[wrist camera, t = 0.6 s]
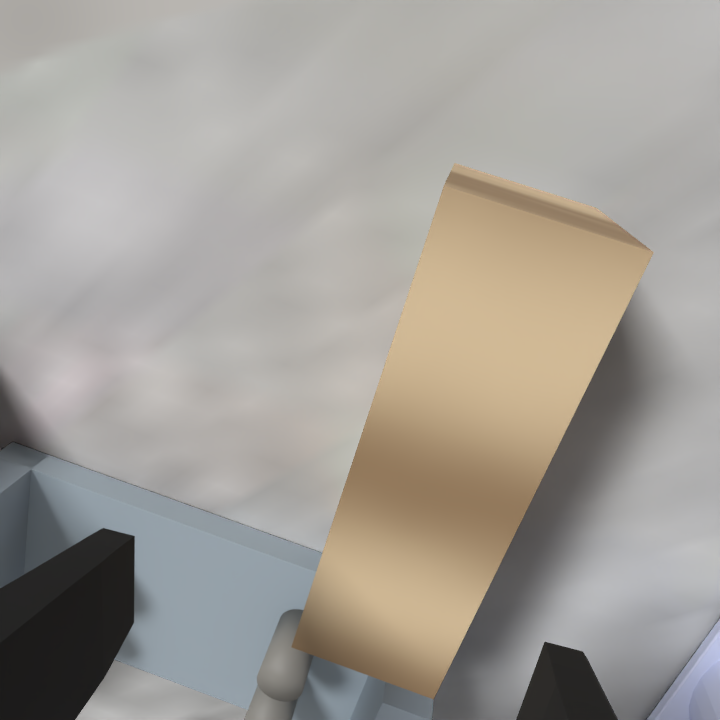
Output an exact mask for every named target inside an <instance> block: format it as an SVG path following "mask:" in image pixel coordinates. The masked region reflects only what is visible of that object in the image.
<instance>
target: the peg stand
mask: <svg viewBox="0 0 720 720" xmlns="http://www.w3.org/2000/svg"><path fill="white" fill-rule="evenodd" d="M102 528H105V529H109V530H113V531H117V532H121V533H125V534H129V535H133V536H135V572H134V624H133V626H132V627H131V629H130V631H129V633H128V635H127V637H126V639H125V641H124V642H123V644H122V646H121V648H120V650H119V652H118V654H117V655H116V657H115V659H114V660H117V661H119V662H122V663H125V664H127V665H130V666H133V667H135V668H138V669H141V670H143V671H146V672H149V673H151V674H154V675H157V676H159V677H162V678H165V679H167V680H170V681H173V682H175V683H178V684H180V685H183V686H186V687H188V688H191V689H194V690H196V691H199V692H202V693H204V694H207V695H210V696H212V697H215V698H218V699H220V700H223V701H226V702H228V703H231V704H234V705H236V706H239V707H241V708H244V709H247V710H248V711H247V714H246V716H245V719H244V720H432V713H433V700H434V699H431V698H428V697H426V696H423V695H420V694H417V693H415V692H412V691H409V690H406V689H404V688H401V687H398V686H395V685H393V684H390V683H387V682H385V681H382V680H379V679H376V678H374V677H371V676H368V675H365V674H363V673H360V672H357V671H355V670H352V669H349V668H346V667H344V666H341V665H338V664H335V663H333V662H330V661H327V660H325V659H322V658H319V657H316V656H314V655H311V654H308V653H305V652H303V651H300V650H297V649H295V648H292V647H291V646H292V643H293V640H294V637H295V634H296V631H297V628H298V625H299V622H300V619H301V616H302V613H303V610H304V607H305V604H306V601H307V598H308V595H309V592H310V589H311V586H312V583H313V580H314V577H315V574H316V571H317V568H318V565H319V562H320V559H321V556H322V553H321V552H318V551H315V550H312V549H309V548H307V547H304V546H301V545H298V544H295V543H293V542H290V541H287V540H284V539H282V538H279V537H276V536H273V535H270V534H268V533H265V532H262V531H259V530H256V529H254V528H251V527H248V526H245V525H243V524H240V523H237V522H234V521H231V520H229V519H226V518H223V517H220V516H217V515H215V514H212V513H209V512H206V511H204V510H201V509H198V508H195V507H192V506H190V505H187V504H184V503H181V502H178V501H176V500H173V499H170V498H167V497H165V496H162V495H159V494H156V493H153V492H151V491H148V490H145V489H142V488H139V487H137V486H134V485H131V484H128V483H126V482H123V481H120V480H117V479H114V478H112V477H109V476H106V475H103V474H100V473H98V472H95V471H92V470H89V469H87V468H84V467H81V466H78V465H75V464H73V463H70V462H67V461H64V460H61V459H59V458H56V457H53V456H50V455H48V454H45V453H42V452H39V451H36V450H34V449H31V448H28V447H25V446H22V445H20V444H17V443H14V442H12V443H11V444H9V445H8V446H6V447H5V448H3V449H2V450H1V451H0V588H2V587H3V586H5V585H7V584H9V583H10V582H12V581H14V580H15V579H17V578H19V577H21V576H22V575H24V574H26V573H27V572H29V571H31V570H33V569H34V568H36V567H38V566H39V565H41V564H43V563H44V562H46V561H48V560H49V559H51V558H53V557H54V556H56V555H58V554H59V553H61V552H63V551H64V550H66V549H68V548H70V547H71V546H73V545H75V544H76V543H78V542H80V541H81V540H83V539H85V538H86V537H88V536H90V535H92V534H93V533H95V532H97V531H99V530H100V529H102Z"/></svg>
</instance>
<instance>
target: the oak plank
mask: <svg viewBox="0 0 720 720" xmlns="http://www.w3.org/2000/svg"><path fill="white" fill-rule="evenodd" d="M653 253H654V252H652V251H651V250H650V249H649V248H647V247H646V246H645V245H643V244H642V243H641V242H640V241H638V240H637V239H636V238H634V237H633V236H632V235H631V234H629V233H628V232H627V231H625V230H624V229H623V228H621V227H620V226H619V225H618V224H616V223H615V222H614V221H612V220H611V219H610V218H609V217H607V216H606V215H605V214H603V213H602V212H601V211H600V210H598V209H597V208H595V207H592V206H588V205H585V204H582V203H579V202H576V201H573V200H569V199H566V198H563V197H560V196H557V195H554V194H550V193H547V192H544V191H541V190H538V189H535V188H532V187H528V186H525V185H522V184H519V183H516V182H513V181H509V180H506V179H503V178H500V177H497V176H494V175H490V174H487V173H484V172H481V171H478V170H475V169H471V168H468V167H465V166H462V165H459V164H456V163H455V164H454V166H453V168H452V170H451V172H450V174H449V176H448V178H447V180H446V183H445V185H444V187H443V190H442V193H441V196H440V199H439V202H438V205H437V208H436V211H435V214H434V218H433V221H432V224H431V227H430V230H429V233H428V236H427V239H426V242H425V245H424V248H423V251H422V254H421V257H420V260H419V263H418V266H417V269H416V272H415V275H414V278H413V281H412V284H411V287H410V290H409V293H408V296H407V299H406V302H405V305H404V308H403V311H402V314H401V317H400V320H399V323H398V326H397V329H396V332H395V335H394V338H393V341H392V344H391V347H390V350H389V353H388V356H387V360H386V363H385V366H384V369H383V372H382V375H381V378H380V381H379V384H378V387H377V390H376V393H375V396H374V399H373V402H372V405H371V408H370V411H369V414H368V417H367V420H366V423H365V426H364V429H363V432H362V435H361V438H360V441H359V444H358V447H357V450H356V453H355V456H354V459H353V462H352V465H351V468H350V471H349V474H348V477H347V480H346V483H345V486H344V489H343V492H342V495H341V498H340V501H339V505H338V508H337V511H336V514H335V517H334V520H333V523H332V526H331V529H330V532H329V535H328V538H327V541H326V544H325V547H324V550H323V553H322V556H321V559H320V562H319V565H318V568H317V571H316V574H315V577H314V580H313V583H312V586H311V589H310V592H309V595H308V598H307V601H306V604H305V607H304V610H303V613H302V616H301V619H300V622H299V625H298V628H297V631H296V634H295V637H294V640H293V643H292V646H291V647H292V648H295V649H297V650H300V651H303V652H305V653H308V654H311V655H314V656H316V657H319V658H322V659H325V660H327V661H330V662H333V663H335V664H338V665H341V666H344V667H346V668H349V669H352V670H355V671H357V672H360V673H363V674H365V675H368V676H371V677H374V678H376V679H379V680H382V681H385V682H387V683H390V684H393V685H395V686H398V687H401V688H404V689H406V690H409V691H412V692H415V693H417V694H420V695H423V696H426V697H428V698H431V699H434V697H435V695H436V693H437V691H438V689H439V687H440V685H441V683H442V681H443V679H444V677H445V675H446V673H447V671H448V669H449V667H450V665H451V663H452V661H453V659H454V657H455V655H456V653H457V651H458V649H459V647H460V645H461V643H462V641H463V639H464V637H465V634H466V632H467V630H468V628H469V626H470V624H471V622H472V620H473V618H474V616H475V614H476V612H477V610H478V608H479V606H480V604H481V602H482V600H483V598H484V596H485V594H486V592H487V590H488V588H489V586H490V584H491V582H492V580H493V578H494V576H495V574H496V572H497V570H498V567H499V565H500V563H501V561H502V559H503V557H504V555H505V553H506V551H507V549H508V547H509V545H510V543H511V541H512V539H513V537H514V535H515V533H516V531H517V529H518V527H519V525H520V523H521V521H522V519H523V517H524V515H525V513H526V511H527V509H528V507H529V505H530V503H531V500H532V498H533V496H534V494H535V492H536V490H537V488H538V486H539V484H540V482H541V480H542V478H543V476H544V474H545V472H546V470H547V468H548V466H549V464H550V462H551V460H552V458H553V456H554V454H555V452H556V450H557V448H558V446H559V444H560V442H561V440H562V438H563V436H564V433H565V431H566V429H567V427H568V425H569V423H570V421H571V419H572V417H573V415H574V413H575V411H576V409H577V407H578V405H579V403H580V401H581V399H582V397H583V395H584V393H585V391H586V389H587V387H588V385H589V383H590V381H591V379H592V377H593V375H594V373H595V371H596V368H597V366H598V364H599V362H600V360H601V358H602V356H603V354H604V352H605V350H606V348H607V346H608V344H609V342H610V340H611V338H612V336H613V334H614V332H615V330H616V328H617V326H618V324H619V322H620V320H621V318H622V316H623V314H624V312H625V310H626V308H627V306H628V304H629V301H630V299H631V297H632V295H633V293H634V291H635V289H636V287H637V285H638V283H639V281H640V279H641V277H642V275H643V273H644V271H645V269H646V267H647V265H648V263H649V261H650V259H651V257H652V255H653Z"/></svg>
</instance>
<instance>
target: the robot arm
mask: <svg viewBox="0 0 720 720" xmlns="http://www.w3.org/2000/svg"><path fill="white" fill-rule="evenodd" d="M134 572H135V536H133V535H129V534H125V533H121V532H117V531H113V530H109V529H105V528H102V529H100V530H99V531H97V532H95V533H93V534H92V535H90V536H88V537H86V538H85V539H83V540H81V541H80V542H78V543H76V544H75V545H73V546H71V547H70V548H68V549H66V550H64V551H63V552H61V553H59V554H58V555H56V556H54V557H53V558H51V559H49V560H48V561H46V562H44V563H43V564H41V565H39V566H38V567H36V568H34V569H33V570H31V571H29V572H27V573H26V574H24V575H22V576H21V577H19V578H17V579H15V580H14V581H12V582H10V583H9V584H7V585H5V586H3V587H2V588H0V720H75V719H76V718H77V716H78V715H79V713H80V712H81V710H82V709H83V707H84V706H85V705H86V703H87V702H88V700H89V699H90V697H91V696H92V695H93V693H94V692H95V690H96V689H97V687H98V686H99V684H100V683H101V681H102V680H103V678H104V677H105V675H106V673H107V671H108V670H109V668H110V666H111V664H112V663H113V661H114V659H115V657H116V655H117V654H118V652H119V650H120V648H121V646H122V644H123V642H124V641H125V639H126V637H127V635H128V633H129V631H130V629H131V627H132V626H133V624H134ZM516 720H618V719H617V717H616V715H615V713H614V711H613V709H612V707H611V705H610V703H609V701H608V699H607V697H606V695H605V693H604V691H603V689H602V687H601V685H600V683H599V681H598V679H597V677H596V675H595V673H594V671H593V669H592V667H591V665H590V663H589V661H588V659H587V658H586V656H585V654H584V653H583V652H582V651H578V650H575V649H571V648H567V647H563V646H559V645H555V644H551V643H547V642H545V643H544V645H543V648H542V651H541V654H540V656H539V659H538V662H537V664H536V667H535V670H534V673H533V675H532V678H531V681H530V684H529V686H528V689H527V692H526V695H525V697H524V700H523V703H522V706H521V708H520V711H519V714H518V716H517V719H516ZM647 720H720V619H719V620H718V622H717V623H716V624H715V626H714V627H713V629H712V630H711V631H710V633H709V634H708V636H707V637H706V638H705V640H704V641H703V642H702V644H701V645H700V647H699V648H698V649H697V651H696V652H695V654H694V655H693V656H692V658H691V659H690V660H689V662H688V663H687V665H686V666H685V667H684V669H683V670H682V672H681V673H680V674H679V676H678V677H677V678H676V680H675V681H674V683H673V684H672V685H671V687H670V688H669V689H668V691H667V692H666V694H665V695H664V696H663V698H662V699H661V701H660V702H659V703H658V705H657V706H656V707H655V709H654V710H653V712H652V713H651V714H650V716H649V717H648V719H647Z"/></svg>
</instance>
